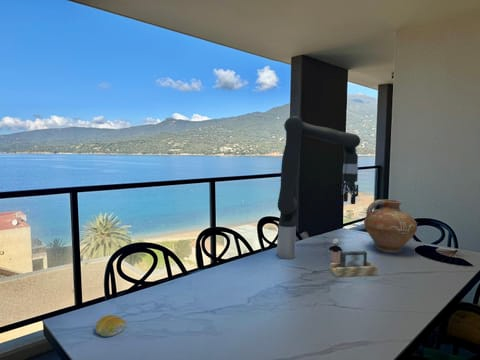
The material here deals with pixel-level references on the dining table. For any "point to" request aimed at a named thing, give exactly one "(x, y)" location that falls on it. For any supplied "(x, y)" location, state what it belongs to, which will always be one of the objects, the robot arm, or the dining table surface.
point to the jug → (389, 225)
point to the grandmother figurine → (335, 251)
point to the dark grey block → (353, 259)
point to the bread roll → (110, 326)
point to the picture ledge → (353, 270)
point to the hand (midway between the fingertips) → (349, 202)
